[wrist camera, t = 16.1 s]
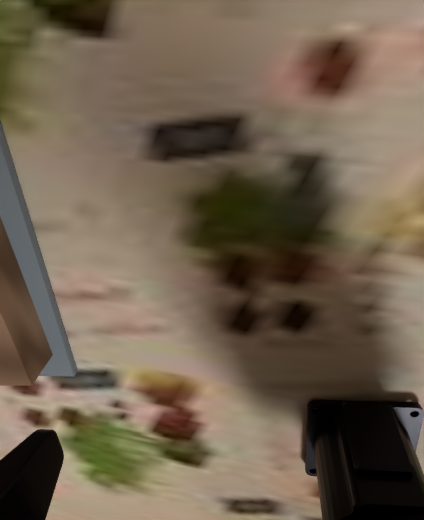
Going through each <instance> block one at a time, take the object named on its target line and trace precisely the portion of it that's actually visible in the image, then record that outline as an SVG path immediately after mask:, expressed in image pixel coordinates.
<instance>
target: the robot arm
mask: <svg viewBox="0 0 424 520" xmlns="http://www.w3.org/2000/svg"><path fill="white" fill-rule="evenodd" d="M314 408H318V409H314ZM412 411H414V412H412ZM423 416H424V412H423V409H422V407H421V405H420V404H418V403H414V402H378V401H341V400H312V401H310V402H309V403H308V404H307V423H306V452H305V470H306V473H307V474H308V475H310V476H317V479H318V487H319V495H320V503H321V511H322V519H323V520H424V474H423V471H422V469H421V466H420V463H419V461H418V458H417V455H416V448H417V444H418V439H419V434H420V430H421V425H422V421H423ZM63 459H64V454H63V450H62V447H61V444H60V442H59V439H58V436H57V434H56V432H55V431H54V430H46V429H40V430H37V431H35V432H33V433H32V434H31V435H30V436H29V437H27V438H26V439H25V440H24V441H23V442H21V443H20V444H19V445H18V446H17V447H15V448H14V449H13V450H12V451H11V452H9V453H8V454H7V455H6V456H5V457H4V458H2V459H1V460H0V520H45V519H46V516H47V513H48V509H49V506H50V503H51V500H52V496H53V493H54V490H55V487H56V483H57V480H58V477H59V474H60V470H61V467H62V464H63Z"/></svg>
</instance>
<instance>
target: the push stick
mask: <svg viewBox="0 0 424 520" xmlns="http://www.w3.org/2000/svg"><path fill="white" fill-rule="evenodd" d="M52 356H53V354H52V351H51V348H50V346H49V343H48V341H47V338H46V335H45V333H44V330H43V327H42V325H41V322H40V320H39V317H38V314H37V312H36V309H35V306H34V304H33V301H32V298H31V296H30V293H29V291H28V288H27V285H26V283H25V280H24V277H23V275H22V272H21V270H20V267H19V264H18V262H17V259H16V256H15V254H14V251H13V248H12V246H11V243H10V241H9V238H8V235H7V233H6V230H5V227H4V225H3V222H2V220H1V217H0V385H32V384H33V383H34V381H35V380H36V379H37V377H38V376H39V374H40V373H41V371H42V370H43V369H44V367H45V366H46V364H47V363H48V361H49V360H50V358H51V357H52Z"/></svg>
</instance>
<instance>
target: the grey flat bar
mask: <svg viewBox="0 0 424 520" xmlns="http://www.w3.org/2000/svg"><path fill="white" fill-rule="evenodd" d="M0 217H1V220H2V222H3V225H4V227H5V230H6V233H7V235H8V238H9V241H10V243H11V246H12V248H13V251H14V254H15V256H16V259H17V262H18V264H19V267H20V270H21V272H22V275H23V277H24V280H25V283H26V285H27V288H28V291H29V293H30V296H31V298H32V301H33V304H34V306H35V309H36V312H37V314H38V317H39V320H40V322H41V325H42V327H43V330H44V333H45V335H46V338H47V341H48V343H49V346H50V348H51V351H52V354H53V356H52V357H51V358H50V360H49V361H48V363H47V364H46V366H45V367H44V369H43V370H42V371H41V373H40V374H39V376H75V374H76V372H77V368H76V365H75V361H74V358H73V355H72V352H71V348H70V345H69V342H68V339H67V335H66V332H65V329H64V326H63V323H62V319H61V316H60V313H59V310H58V306H57V303H56V300H55V297H54V293H53V290H52V287H51V284H50V281H49V277H48V274H47V271H46V268H45V264H44V261H43V258H42V255H41V251H40V248H39V245H38V242H37V239H36V235H35V232H34V229H33V226H32V222H31V219H30V216H29V213H28V209H27V206H26V203H25V200H24V196H23V193H22V190H21V187H20V184H19V180H18V177H17V174H16V171H15V167H14V164H13V161H12V158H11V154H10V151H9V148H8V145H7V142H6V138H5V135H4V132H3V129H2V125H1V122H0Z"/></svg>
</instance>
